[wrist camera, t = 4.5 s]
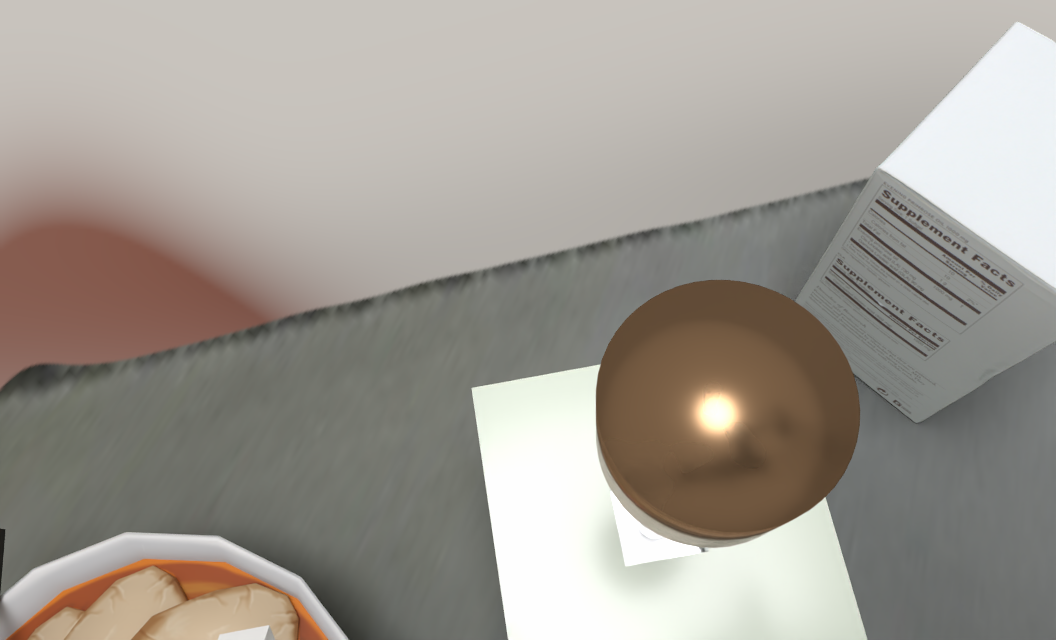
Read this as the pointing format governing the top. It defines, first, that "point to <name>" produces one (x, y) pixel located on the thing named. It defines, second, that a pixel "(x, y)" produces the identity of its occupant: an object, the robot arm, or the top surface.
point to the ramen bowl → (161, 593)
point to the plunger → (720, 418)
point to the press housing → (595, 549)
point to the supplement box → (953, 239)
